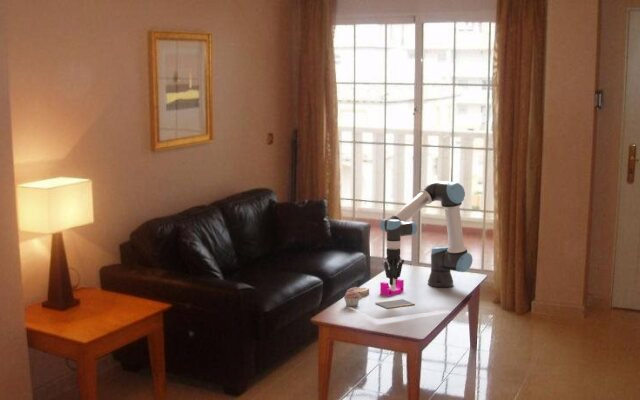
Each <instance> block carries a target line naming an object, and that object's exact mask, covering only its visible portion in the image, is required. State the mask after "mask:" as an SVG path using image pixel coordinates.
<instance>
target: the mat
mask: <svg viewBox="0 0 640 400" xmlns="http://www.w3.org/2000/svg"><path fill="white" fill-rule="evenodd" d="M374 303H375V305H377V306H379V307H382V308H383V309H387V310H388V309H389V310H390V309H396V308H402V307H408V306H415V303H414V302H411V301H408V300H406V299H404V298H400V299H393V300H386V301H378V302H374Z"/></svg>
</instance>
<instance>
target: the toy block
mask: <svg viewBox="0 0 640 400" xmlns="http://www.w3.org/2000/svg"><path fill="white" fill-rule="evenodd" d="M404 282H405V279H401V278H398V279H397V284H396V291H392V290H391V286H390V284H389V282H385V281H381V282H380V283H379V284H380V285H379V286H380V290H379V291H380V292H379V293H380V295H383V296H386V297H389V296H390V297H391V296H394V295H395V296H396V295H399V294H401V293H402V292H404V285H405V283H404Z"/></svg>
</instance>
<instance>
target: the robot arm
mask: <svg viewBox="0 0 640 400" xmlns="http://www.w3.org/2000/svg"><path fill="white" fill-rule="evenodd" d="M465 196H466V192H465V188H464V186H463V185H462V184H461V183H459V182H455V181H442V180H436V181H432V182H431V183H429V184H427V185H426V186H424V187H423V188H421V189H420V190H419V191H418V194H416V195H415V197H413V198H412V199H411V200H409V202H407V203H406V204H405V205H404V206H403V207H401V208H400V209H399V210H398V211H397V212H395V213H394V214H393V215H392V216H391V217H390V218H383V219H381V221H380V223H379V227H380V230H381V231H382V232H385V233H386V247H387V248H386V258H385V260H383V261H382V265H383V267H384V271H385V277H386V278H387V279H389V286H390V288H391V290H392V291H396V284H397V279H399V278H400V277H401V273H402V270H403V265H404V263H405V260H404V259H402V258H401V237H407V236H413V235H415V234H417V232H418V225H417V223H416V222H414V221H410V219H411V218H413V216H415V215H416V214H417V213H418V212H420V210H421V209H423V208H424V207H425V206H427V205H431V203H432V202H436V201H437V202H438V201H439V202H440V203H441V204H440V205H441V207H442V208H443V209H444V213H445V223H446V230H447V231H446V232H447V239H448V246H436V247H432V248H431V251H430V274H429V276H428V280H427V285H429V286H430V287H435V288H448V287H452V286H454V280H453V277H452V273H451V271H453V272H458V273H460V272H461V273H465V272H468V271H469V270H470V268H471V267H472V264H473V256H472V254H471V253H469V252H468V248H467V246H465V243H464V241H465V240H464V235H463V226H462V217H461V210H460V209H461V208H460V207H461V205H462V204H463V203H462V202H463V201H464V200H465Z"/></svg>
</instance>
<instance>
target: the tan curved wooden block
mask: <svg viewBox="0 0 640 400" xmlns="http://www.w3.org/2000/svg"><path fill="white" fill-rule="evenodd" d="M352 288H353V289H355V290H356V291H357V292H358V293H359V296H360V299H362V298H364V297H366V296H368V295H370V288H367V287H360V286H358V287H357V286H354V287H352ZM348 290H349V289H347V290H346V292H348Z"/></svg>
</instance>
